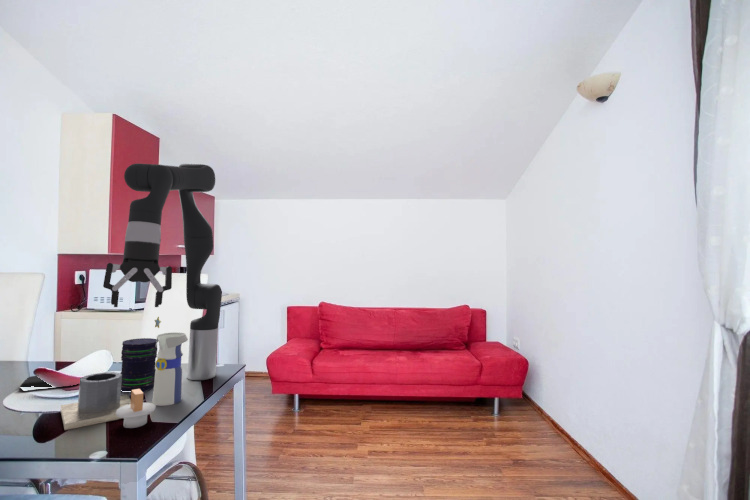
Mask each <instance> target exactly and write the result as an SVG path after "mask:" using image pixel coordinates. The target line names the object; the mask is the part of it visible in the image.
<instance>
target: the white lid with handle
mask: <svg viewBox="0 0 750 500" xmlns="http://www.w3.org/2000/svg"><path fill="white" fill-rule="evenodd" d="M130 399H131V404H129V405H125V406H123V407H120V408H119V409H117V410H116V416H117V417H119V418H122V419H123V428H125V429H134V428H140V427H143V426H145V425H146V424H148V416H149V415H151V414H152V413H154V412H155V411H156V405H155V404H153V403H152V402H144V392H142V391H141V390H140V389H134V390H131V393H130Z"/></svg>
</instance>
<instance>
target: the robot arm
mask: <svg viewBox="0 0 750 500" xmlns="http://www.w3.org/2000/svg"><path fill="white" fill-rule="evenodd" d="M123 179H124V182H125V184H126V185H127V186H128V187H129V188H130V189H131V190H133V191H135V192H142V193H143V192H146V193H147V192H148V194H147V196H146V197H143V198H138V199H134V200H132V201H131V202H130V204H129V205H130V206H129V211H128V222H127V226H126V231H125V237H124V246H123V247H124V250H123V257H122V259H123V260H122V262H121V264H117V263H111V262H108V263H107V264H106V268H105V275H104V278H103V284H102V285H103V286H102V287H103V288H104V289H107V290H110V291H111V298H110V303H111V304H110V305H111V306H112V305H113V308H118V307H119V306H118V304H119V296H120V291H119V289H120V288H121V287H122V286H124V285H125V283H127V282H128V281H129V282H131V283H137V282H139V283H148V282H150V283H151V285H152V286H153V288H155V290H156V292H155V297H154V298H155V299H154V308H160V307H159V306H161V305H162V304H163V298H164V297H163V296H164V292H165V291H169V290H171V289H172V286H173V280H172V278H173V277H172V276H173V267H172V266H170V265H169V266H160V264H159V262H160V261H159V260H160V259H159V258H160V257H159V256H160V251H161V250H160V248H161V242H162V239H161V238H162V230H161V228H162V226H161V225H162V216H163V215H162V214H163V209H164V206H165V204H166V201H167V198H168V196H169V194H170V192H171V191H178V195H179V201H180V207H181V214H182V215H181V217H182V229H183V232H182V233H183V243H184V252H185V255H184V256H185V267H186V287H185V288H186V291H185V294H186V302H187V306H188V307H189V308H190V309H193V310H206V311H205V314H204V315H203V316H200V317H198V318H194V319H192V320H191V321H190V324H189V345H188V360H187V375H186V378H187V379H188V380H190V381H191V380H192V381H205V380H209V379H213V378H215V377H216V374H217V373H216V372H217V371H216V370H217V358H218V357H217V355H218V354H217V353H218V339H219V337H218V334H219V322H220V318H221V317H220V316H221V306H222V297H223V296H222V295H223V294H222V293H223V291H222V288H221V286H220V284H216V283H202V282H201V277H202V274H201V273H202V270H203V268H204V265H205V264H206V262H207V261H208V259H209V258H210V256H211V254H212V252H213V250H214V238H213V237H214V235H213V234H214V233H213V228H212V226H211V225H210V223H209V222H208V220H207V219H206V217H204V215H203V213H202V212H201V211H200V210H199V207H198V206H197V203H196V200H195V197H194V193H207V192H212V190H213V189H214V188H215V185H216V175H215V170H214V169H213V168H212V167H211V166H210V165H207V164H201V163H200V164H199V163H198V164H197V163H196V164H195V163H181V164H179V165H177V166H176V165H166V164H156V163H155V164H153V163H132V164H130V165H129V166H128V167H127V168H126V169H125V170H124V175H123ZM118 269H120V271H121V272H122V274H123V275H124V276H123V277H121V278H120V279H119V280H118V281H117V283H115V284H111V279H112V275H113V274H114V273H116V272H117V270H118ZM159 272H161V274H162V275H163V276H165V279H164V280H165V281H164V285H161V284H160V282H159V280H158V279H157V278H156V277H155V276H156V275H157V274H158V273H159ZM112 273H113V274H112Z"/></svg>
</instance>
